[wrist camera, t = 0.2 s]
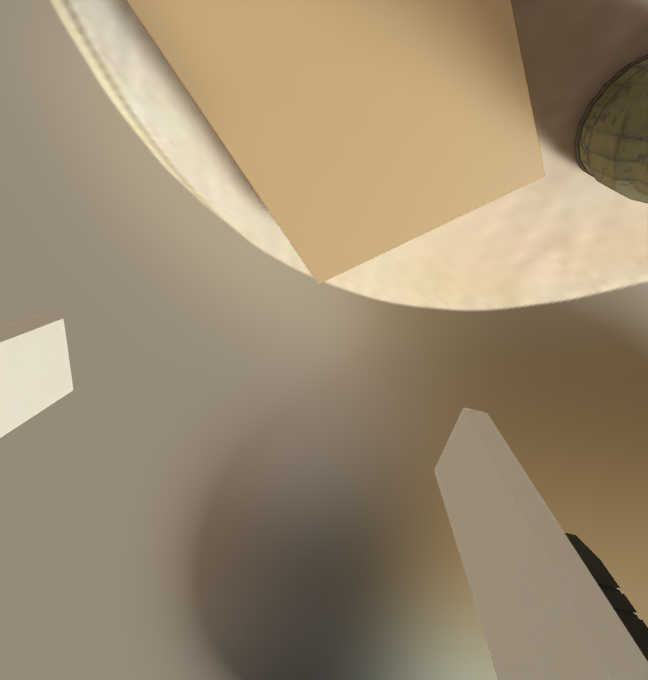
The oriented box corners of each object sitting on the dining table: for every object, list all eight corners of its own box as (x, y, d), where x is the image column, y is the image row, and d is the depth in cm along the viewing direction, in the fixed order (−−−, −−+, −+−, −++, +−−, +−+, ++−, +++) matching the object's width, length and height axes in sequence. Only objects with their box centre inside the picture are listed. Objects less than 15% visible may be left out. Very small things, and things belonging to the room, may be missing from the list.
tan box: (407, -256, 17) (417, -476, 10) (507, 150, 28) (544, 175, 21) (190, 8, 25) (115, -17, 18) (332, 244, 36) (318, 284, 29)
